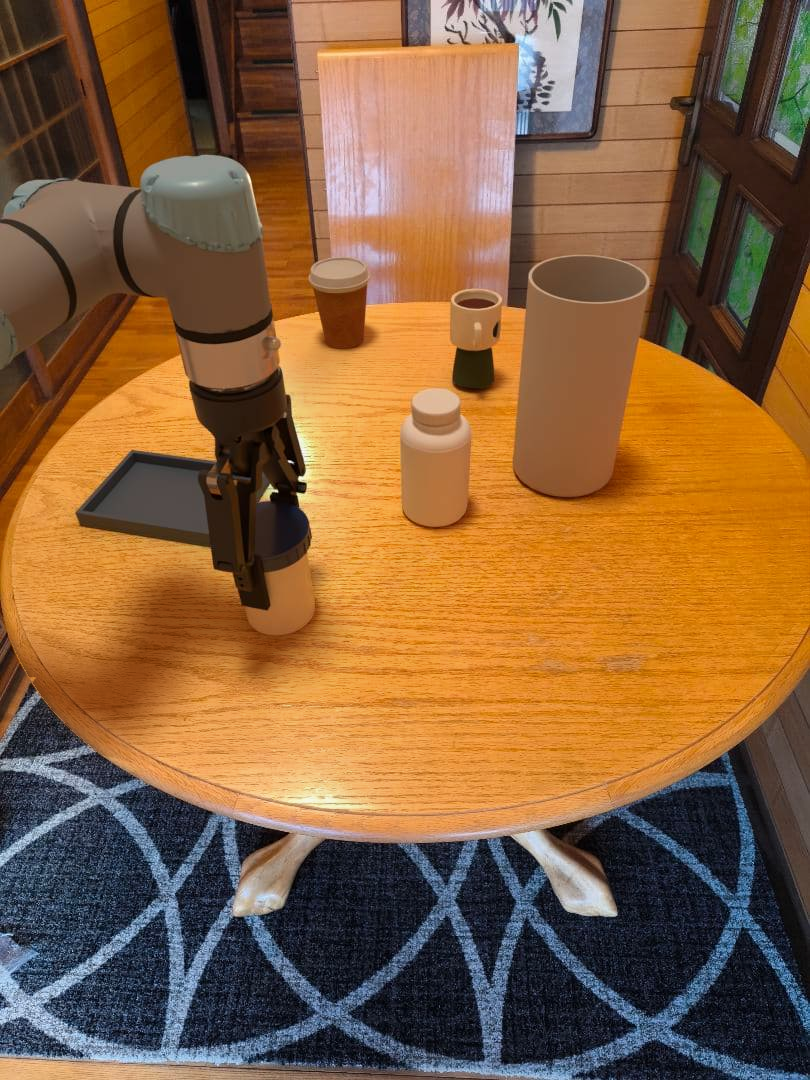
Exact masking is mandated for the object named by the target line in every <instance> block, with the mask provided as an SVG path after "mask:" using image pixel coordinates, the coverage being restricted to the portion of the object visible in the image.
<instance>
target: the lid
mask: <svg viewBox="0 0 810 1080" xmlns="http://www.w3.org/2000/svg"><path fill="white" fill-rule="evenodd" d="M310 525H311V524H310V520H309V517H308V516H307V514H306V513H305V512H304V510H303V509H302V508H298V507H297V506H295V505H293V504H290V503H286V502H281V501H270V500H265V501H258V503H256V524H255V555H260V557H261V561H262V566H263V571H264V572H273V571H277V570H281V569H284V568H286V567H289V566H291V565H293V564H294V563H296V562H297V561H299V560H300V559H301V558H302V557H303V556H304V555H305V554H306V553H307V552H308V551H309V549H310V547H311V543H312V539H313V535H312V528H311V526H310Z"/></svg>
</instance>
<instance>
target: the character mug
mask: <svg viewBox="0 0 810 1080" xmlns="http://www.w3.org/2000/svg"><path fill="white" fill-rule="evenodd" d="M449 307H450V311H449V313H450V314H449V315H450V316H449V317H450V318H449V341H450V343H451V344H452V346H455V348H456V349H455V355H454V361H453V366H452V377H451V378H452V379H451V380H452V382H453V383H454V384H455V385H456V386H460V387H463V388H471V389H485V388H488V387H490V386H492V385H493V384H494V382H495V365H494V355H493V347H494V346H496V345H497V344H498V343H499V342H500V338H501V330H502V309H503V298H502V296H501V294H499V293H497V292H496V291H493V290H489V289H486V288H467V289H461V290H459V291H457V292H455V293H454V294H452V296H451V298H450V305H449Z"/></svg>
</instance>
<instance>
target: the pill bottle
mask: <svg viewBox="0 0 810 1080" xmlns="http://www.w3.org/2000/svg"><path fill="white" fill-rule="evenodd" d="M461 402H462V401H461V399H460V397H459V396H458V395H457V394H456V393H455V392H453V391H452V390H449V389H446V388H439V387H437V388H436V387H435V388H432V387H431V388H427V389H422V390H420V391H419V392H417V393H415V394H414V395H413V397H412V399H411V403H410V404H411V410H410V411H411V413H410V414H409V415H408V416H407V417H406V418H405V419H404V420H403V422H402V424H401V428H400V431H399V432H400V434H399V438H400V439H399V441H400V443H399V444H400V490H401V492H400V493H401V496H400V497H401V507H402V510H403V513H404V514H405V515H406V517H407V518H408V519H409V520H410V521H412V522H414V523H416V524H418V525H420V526H424V527H428V528H429V527H431V528H440V527H446V526H449V525H452V524H454V523H456V522H458V521H459V520H460V519H462V517H463V516H464V514H465V513H466V512H467V509H468V503H469V489H470V470H471V469H470V468H471V452H472V451H471V450H472V428H471V424H470V422H469V421H468V419H467V418H466V417H465V416H464V415H462V414H461V407H462V405H461Z"/></svg>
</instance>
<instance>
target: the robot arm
mask: <svg viewBox="0 0 810 1080" xmlns="http://www.w3.org/2000/svg"><path fill="white" fill-rule="evenodd" d="M139 184H140V186H139V187H134V186H124V185H114V184H106V183H97V182H89V181H88V182H87V181H82V180H80V179H77V178H75V179H72V178H68V177H61V178H54V179H34V180H29V181H26V182H25V183H23V184H20V185H19V186H18V187H17V188H16V189H15V190H14V191H13V195H12V196H11V198H10V200H9V201H8V202H7V203H6V205H5V206H4V209H3V214H2V217H1V218H0V371H1V370H3V369H4V368H5V367H7V366H8V365H9V364H11V363H12V361H13V359H14V358H16V357H17V356H18V355H20V354H21V353H22V352H24V351H26V350H27V349H29V347H31V346H32V345H34V344H36V343H37V342H39V341H40V340H42V339H43V338H44V337H46V336H47V335H49V334H50V333H51V332H53V331H54V330H56V329H58V328H60V327H62V326H64V325H65V324H67V323H69V322H70V321H71V320H73V319H75V318H76V317H77V316H79V315H81V314H82V313H83V312H85V311H87V310H88V309H90V308H91V307H93V306H95V305H96V304H97V303H99V302H101V301H102V300H103V299H105V298H106V297H108V296H110V295H113V294H124V295H131V296H137V297H138V296H139V297H145V298H155V299H156V298H160V299H161V298H162V299H165V300H167V304H168V307H169V311H170V315H171V319H172V322H173V325H174V328H175V329H174V330H175V334H176V339H177V343H178V349H179V354H180V356H181V360H182V366H183V370H184V375H186V377H187V379H189V381H188V387H189V391H190V395H191V398H192V404H193V407H194V412H195V415H196V419H197V421H198V423H200V425H201V426H203V427H204V428H205V429H206V430H207V431H208V432H209V433H210V434H211V435H212V436H213V438H214V458H215V461H216V463H215V464H214V466H213V468H212V469H211V471H208V470H201V471H200V472H199V474H198V482H199V485H200V487H201V490H202V492H203V495H204V499H205V506H206V514H207V522H208V530H209V538H210V545H211V547H210V552H211V561H212V567H213V569H214V570H215V571H219V572H225V573H231V574H232V577H233V581H234V585H235V588H236V589H237V593H238V596H239V600H240V604H241V605H240V606H242V607H244V606H246V607H251V608H256V609H261V610H266V611H268V609H269V607H270V606H271V604H270V599H269V595H268V590H267V585H266V580H265V576H264V571H263V566H262V561H261V557H260V555H255V524H256V492H257V490H259V489H261V487H262V471H263V473H264V474H265V476H266V478H267V479H268V481H269V482H270V484H269V485H271V488H272V489H273V490H277V491H271V493H270V495H269V501H281V502H286V503H290V504H293V505H295V506H297V507H298V508H300V502H299V496H298V494H300V495H301V494H302V495H303V494H306V492H307V489H308V485H307V484H308V483H307V482H305V481H300V480H299V478H300V477H302V478H303V477H304V476H305V475H306V473H307V469H306V463H305V459H304V455H303V452H302V449H301V445H300V441H299V437H298V434H297V433H298V432H297V430H296V425H295V422H294V419H293V409H292V397H291V395H290V394H288V393H286V386H285V380H284V379H285V378H284V373H283V369H282V368H281V366H280V362H281V359H280V351H279V349H281V346H282V343H281V339H280V338H279V337H277V332H276V331H277V330H276V324H275V320H274V313H273V308H272V305H273V304H272V302H271V296H270V288H269V282H268V281H269V280H268V274H267V266H266V259H265V251H264V244H263V243H264V242H263V239H264V238H263V234H264V229H263V225H262V224H263V223H262V220H261V219H260V217H259V211H258V207H257V203H256V199H255V194H254V189H253V183H252V179H251V177H250V174H249V172H248V171H247V169H246V168H245V167H244V166H243V165H242V164H241V163H239V162H238V161H236V160H235V159H232V158H229V157H227V156H222V155H215V154H200V155H192V156H191V155H181V156H174V157H170V158H167V159H163V160H160V161H157V162H156V163H153V164H151V165H149V166H148V167H147V168H145V170H144V171H143V172H142V174H141V176H140V181H139ZM232 474H234V475H236V476H242V477H251V480H246V479H239V478H234V477H233V476H232ZM300 509H301V508H300Z"/></svg>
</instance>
